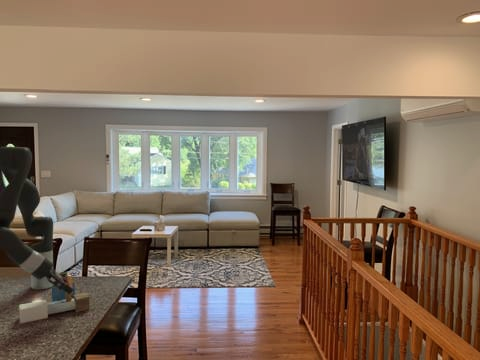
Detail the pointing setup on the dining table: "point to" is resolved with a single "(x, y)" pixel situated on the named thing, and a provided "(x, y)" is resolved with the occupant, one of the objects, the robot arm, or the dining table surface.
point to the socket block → (82, 302)
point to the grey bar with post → (63, 301)
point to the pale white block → (33, 311)
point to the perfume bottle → (61, 294)
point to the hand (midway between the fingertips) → (69, 288)
